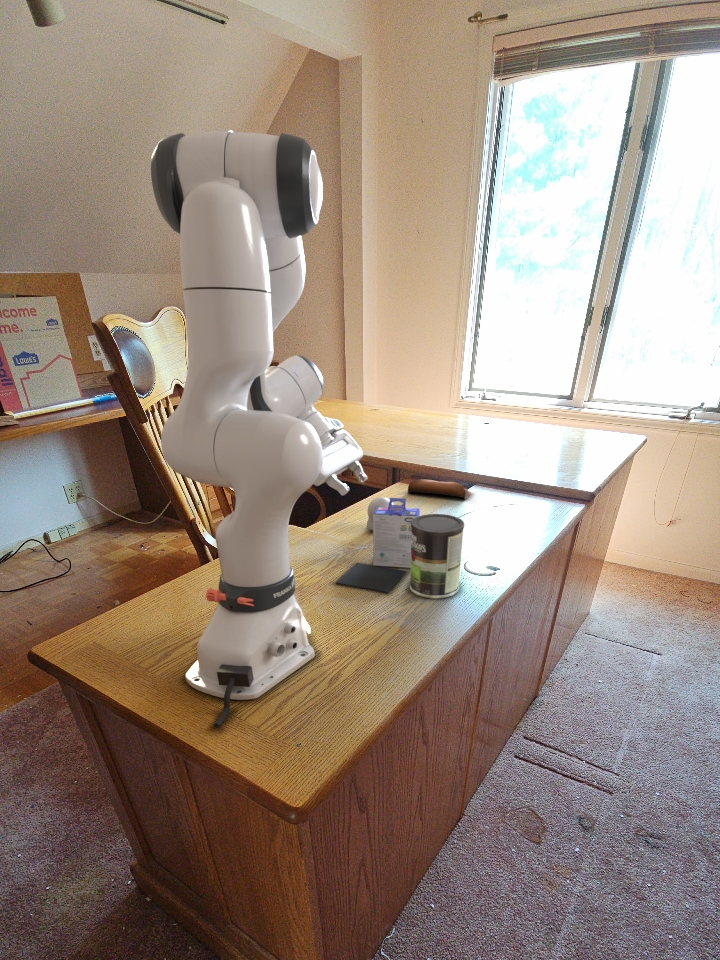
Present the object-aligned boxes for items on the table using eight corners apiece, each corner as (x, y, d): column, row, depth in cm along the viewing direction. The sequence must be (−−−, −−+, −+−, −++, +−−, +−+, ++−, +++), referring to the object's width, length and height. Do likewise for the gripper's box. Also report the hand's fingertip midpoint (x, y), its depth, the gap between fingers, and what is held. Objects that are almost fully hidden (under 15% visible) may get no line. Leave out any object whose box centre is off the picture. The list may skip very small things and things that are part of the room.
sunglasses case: (472, 491, 170) (470, 475, 165) (466, 508, 168) (464, 492, 162) (417, 485, 177) (413, 469, 172) (409, 502, 174) (406, 486, 169)
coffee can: (421, 602, 111) (423, 534, 103) (402, 581, 119) (403, 517, 112) (468, 594, 113) (473, 527, 106) (446, 574, 122) (450, 511, 114)
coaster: (387, 593, 114) (387, 591, 114) (335, 584, 119) (335, 582, 119) (406, 572, 123) (406, 570, 123) (357, 564, 127) (357, 562, 127)
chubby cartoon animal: (402, 540, 139) (402, 506, 135) (362, 531, 145) (361, 499, 141) (416, 531, 144) (417, 498, 140) (377, 523, 150) (376, 491, 146)
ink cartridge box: (419, 559, 129) (421, 497, 121) (416, 569, 124) (418, 505, 117) (377, 556, 131) (376, 495, 123) (372, 566, 126) (371, 503, 118)
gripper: (297, 437, 111) (344, 491, 112) (342, 418, 127) (382, 466, 128) (280, 458, 115) (325, 510, 116) (326, 437, 131) (365, 483, 132)
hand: (355, 486), depth 122 cm, fingers open, 8 cm apart
